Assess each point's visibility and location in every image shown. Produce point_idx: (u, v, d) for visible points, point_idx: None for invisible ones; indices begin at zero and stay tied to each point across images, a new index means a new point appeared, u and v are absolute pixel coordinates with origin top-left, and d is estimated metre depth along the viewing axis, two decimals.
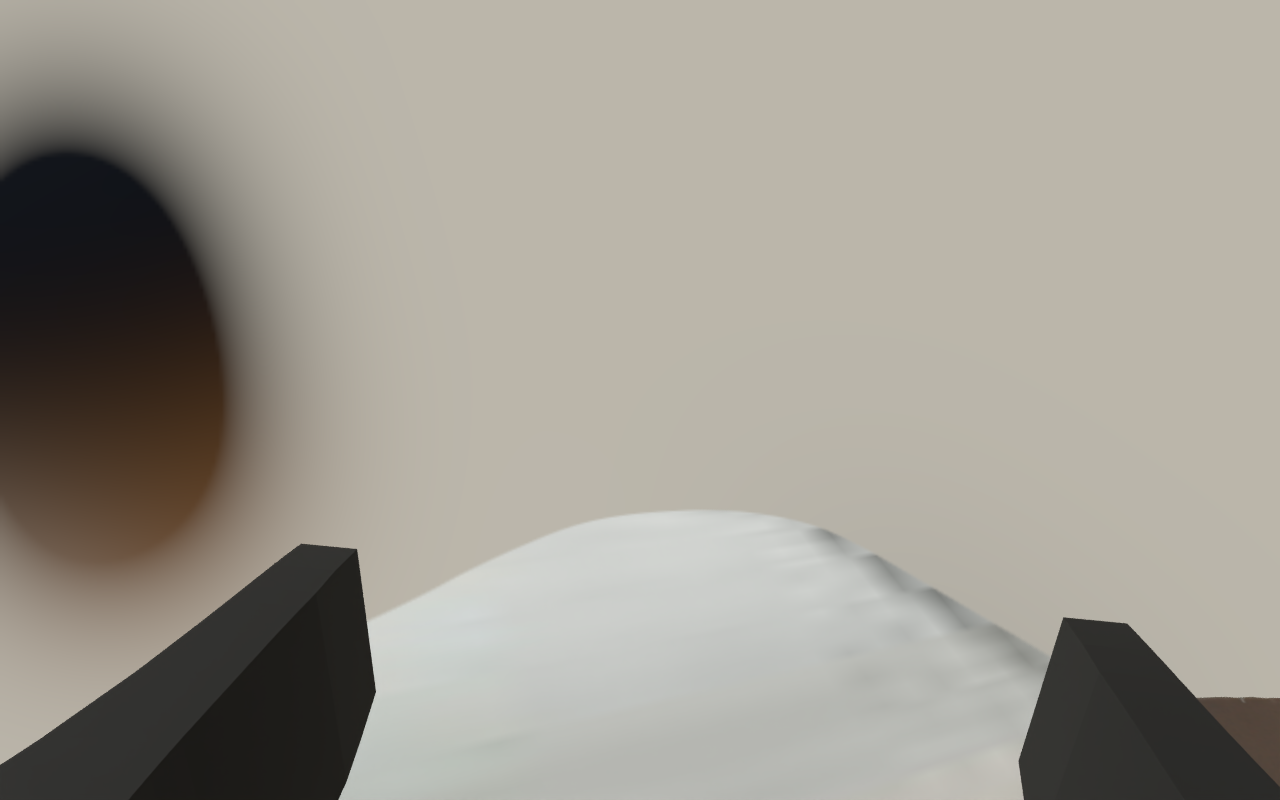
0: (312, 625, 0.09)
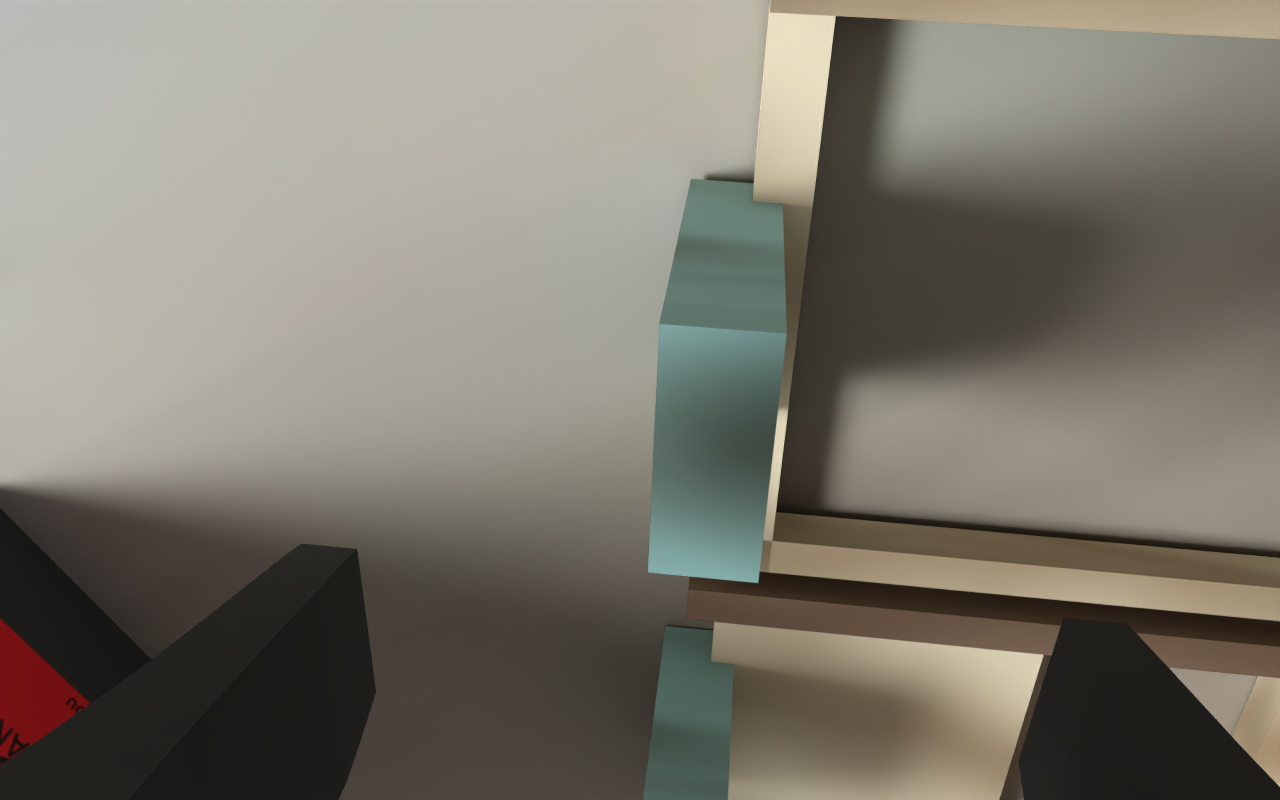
0: (311, 625, 0.09)
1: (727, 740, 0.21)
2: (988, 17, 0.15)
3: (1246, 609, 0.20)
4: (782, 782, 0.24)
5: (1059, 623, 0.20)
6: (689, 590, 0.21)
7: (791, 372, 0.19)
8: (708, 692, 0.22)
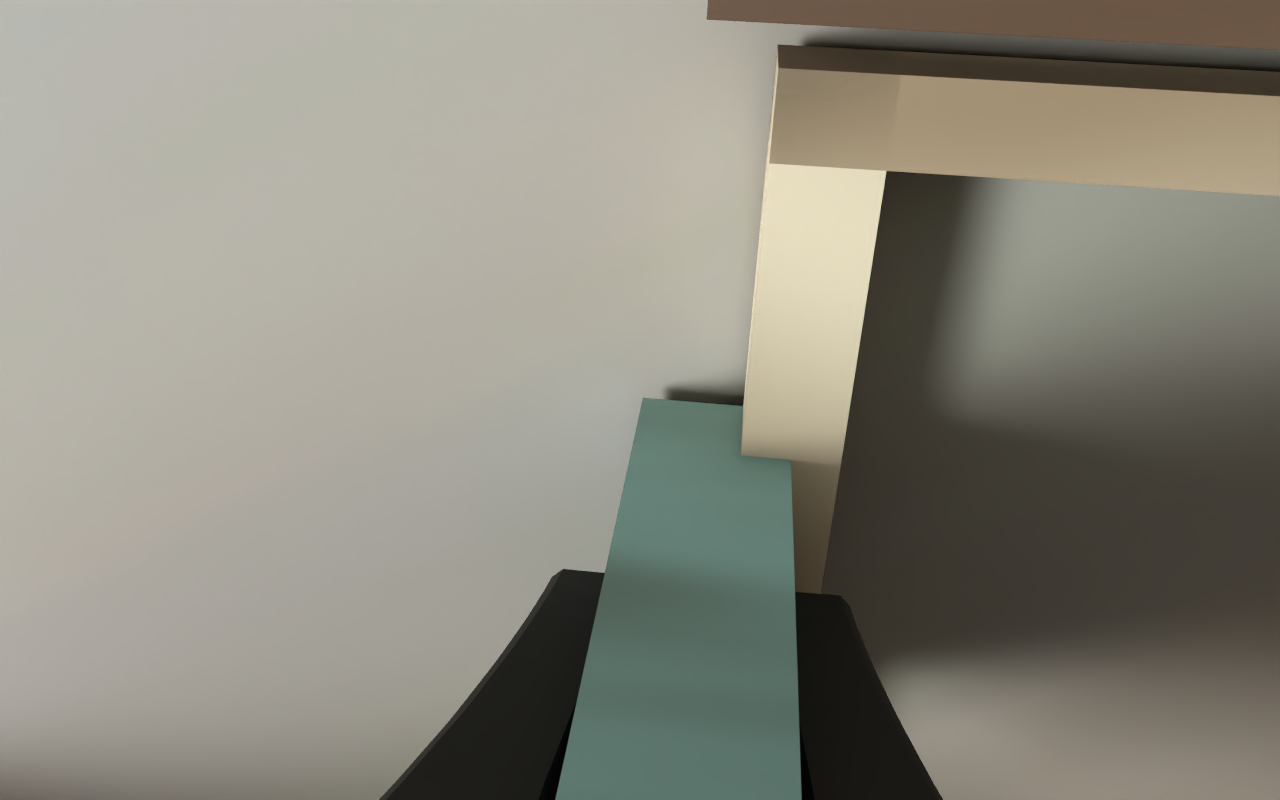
0: None
1: None
2: (1162, 176, 0.09)
3: None
4: None
5: None
6: None
7: None
8: None
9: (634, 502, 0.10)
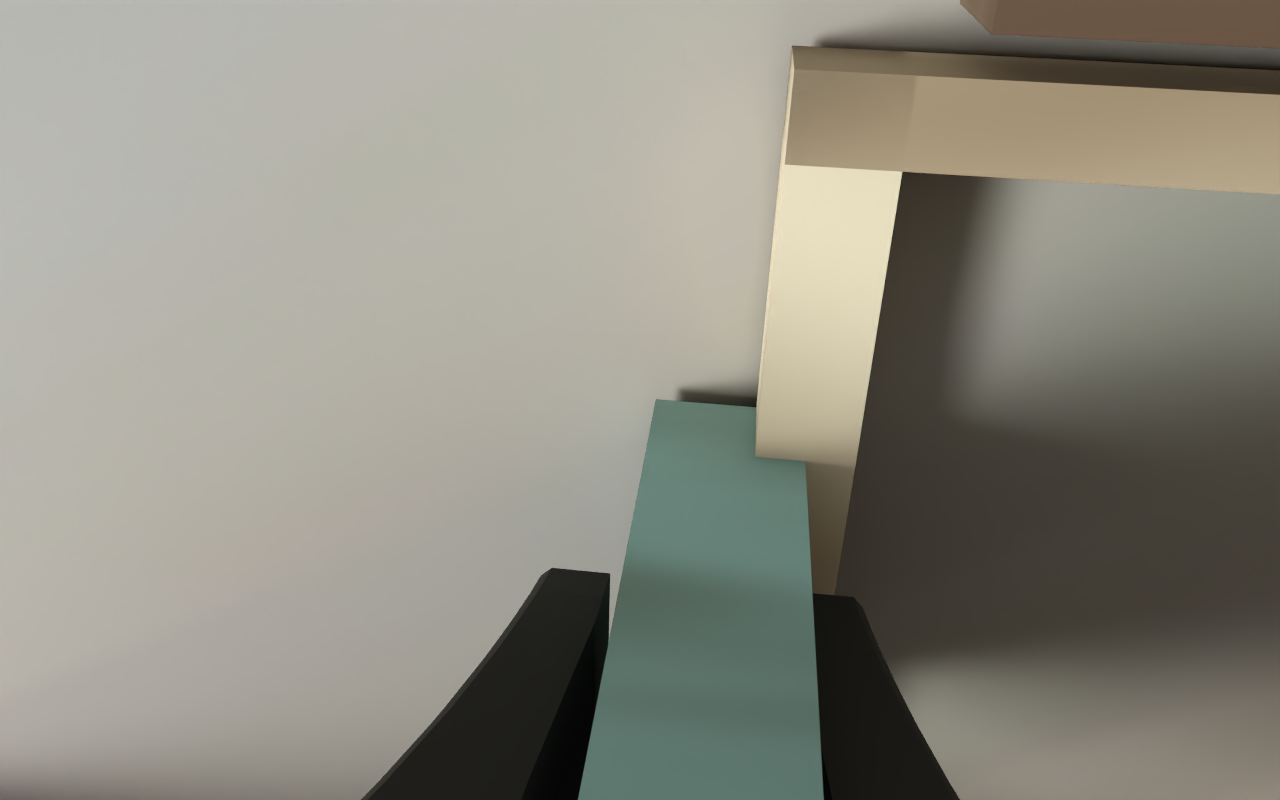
0: (591, 653, 0.09)
1: None
2: (1177, 177, 0.09)
3: None
4: None
5: None
6: None
7: None
8: None
9: (649, 504, 0.10)
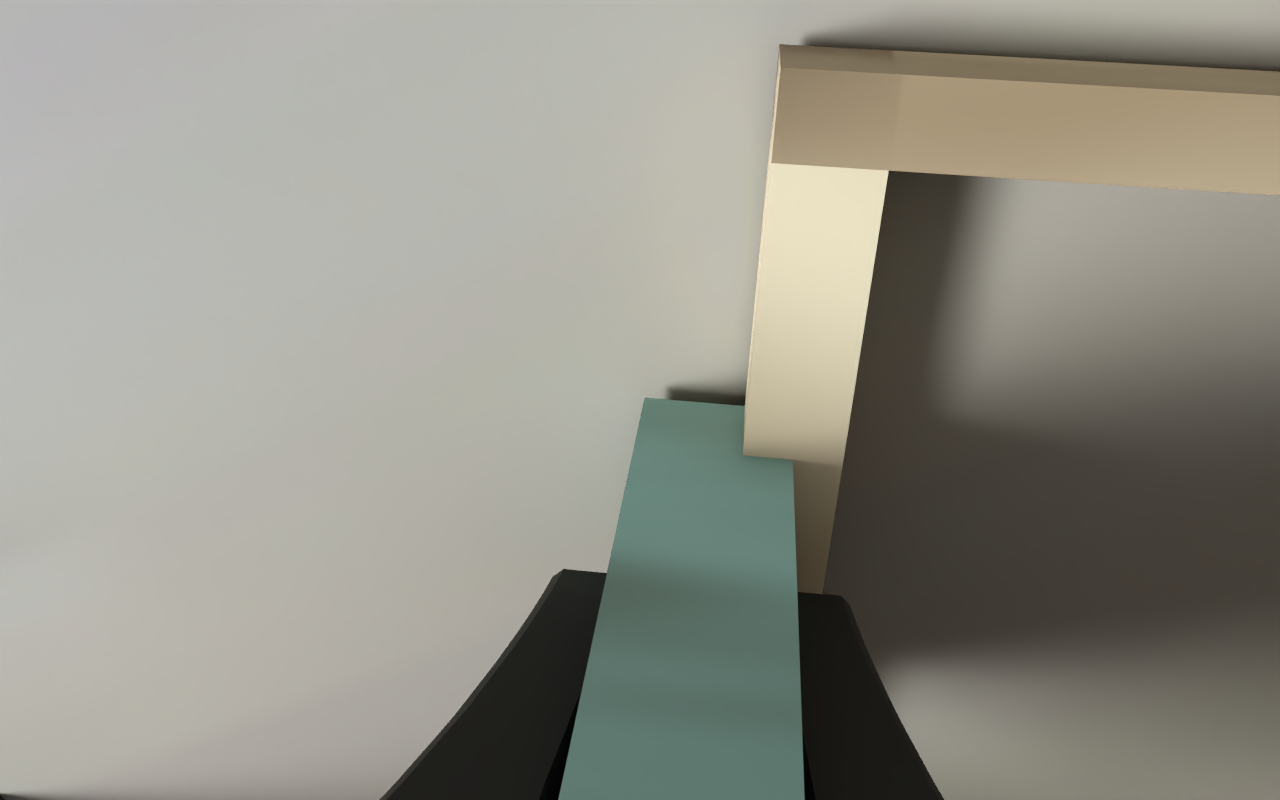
0: None
1: None
2: (1163, 176, 0.09)
3: None
4: None
5: None
6: None
7: None
8: None
9: (636, 502, 0.10)
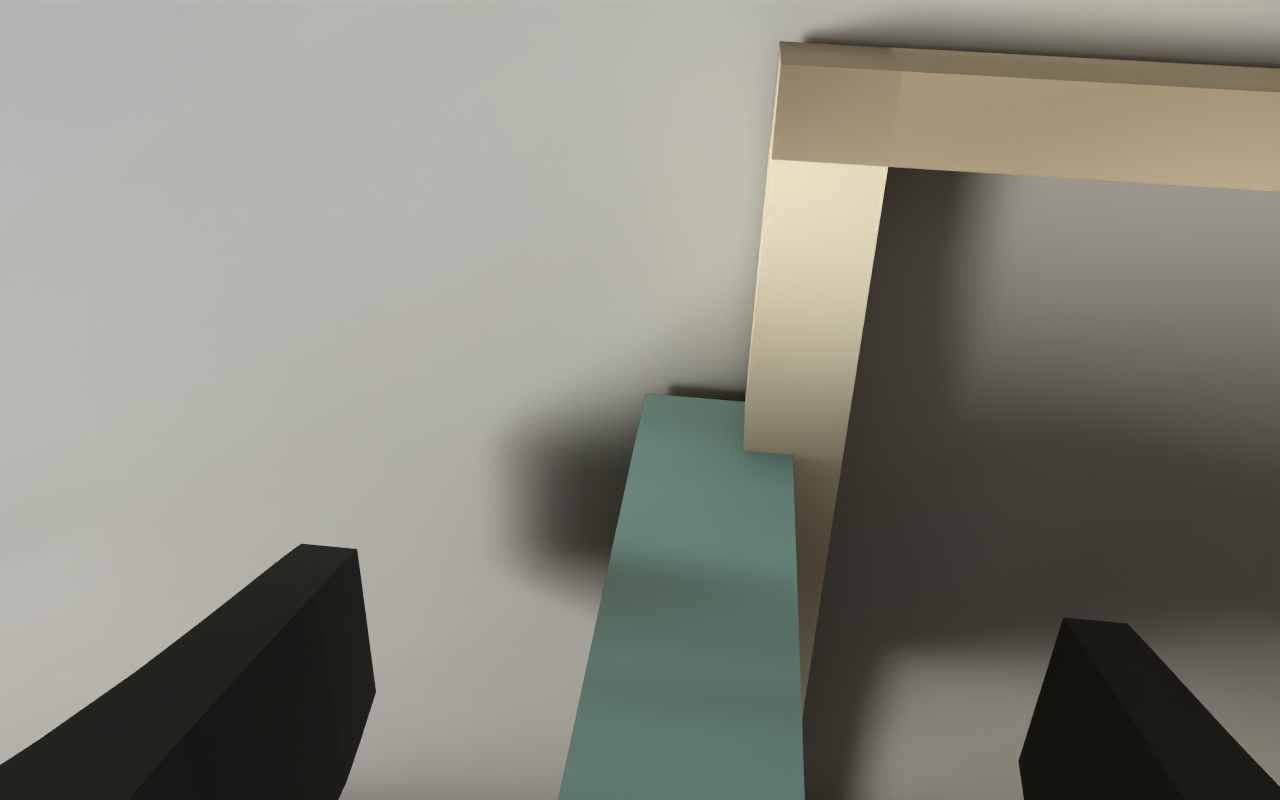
0: (311, 625, 0.09)
1: None
2: (1161, 171, 0.09)
3: None
4: None
5: None
6: None
7: (805, 686, 0.12)
8: None
9: (637, 496, 0.10)
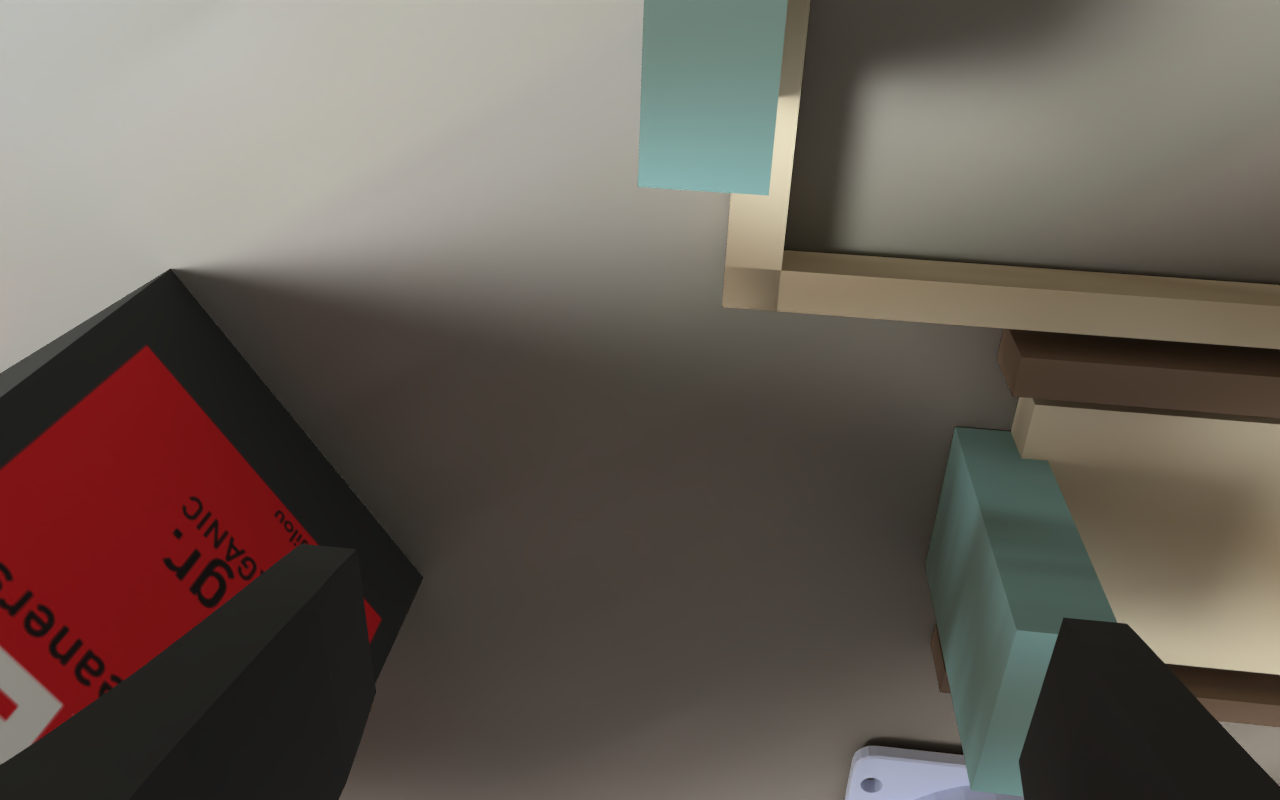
0: (311, 625, 0.09)
1: (1073, 527, 0.18)
2: None
3: None
4: None
5: None
6: (1022, 359, 0.18)
7: (804, 46, 0.16)
8: (1031, 484, 0.19)
9: None
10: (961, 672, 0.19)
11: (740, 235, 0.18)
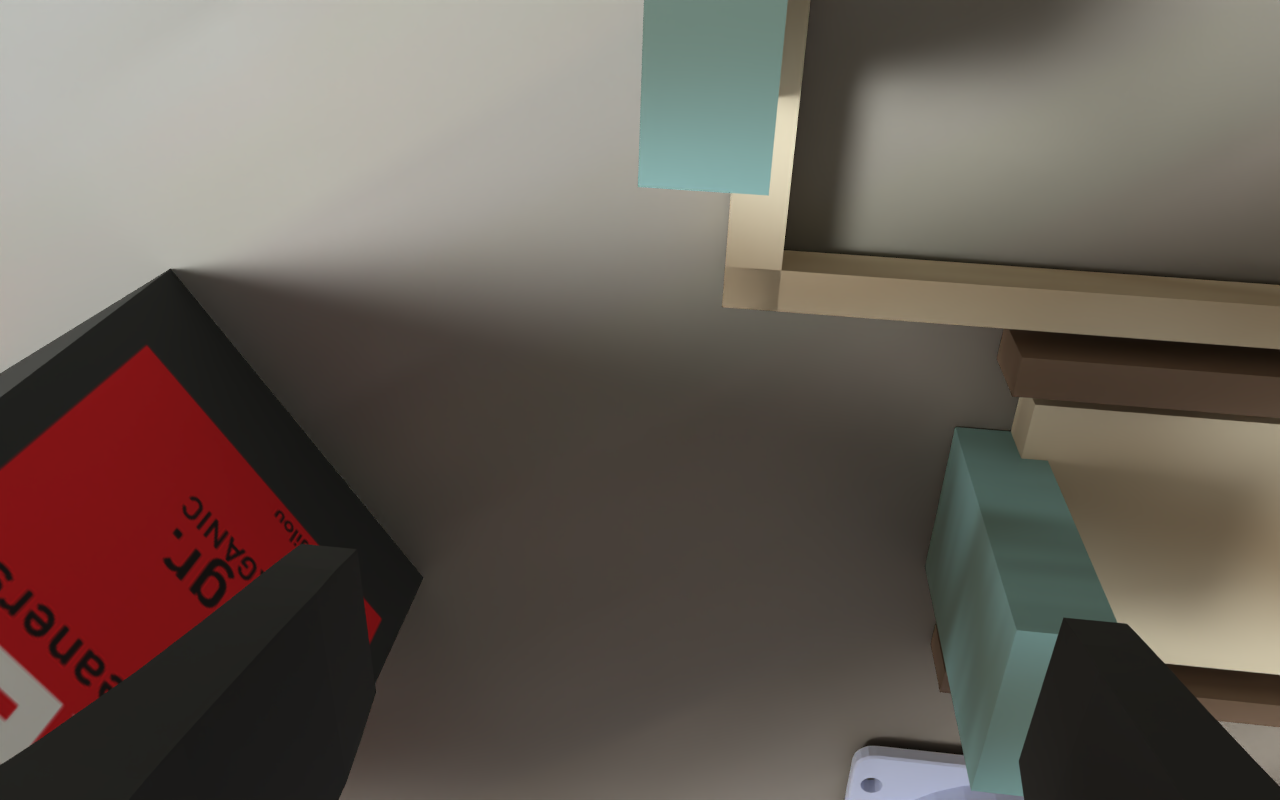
0: (311, 625, 0.09)
1: (1073, 527, 0.18)
2: None
3: None
4: None
5: None
6: (1022, 359, 0.18)
7: (804, 46, 0.16)
8: (1031, 484, 0.19)
9: None
10: (961, 672, 0.19)
11: (740, 235, 0.18)
